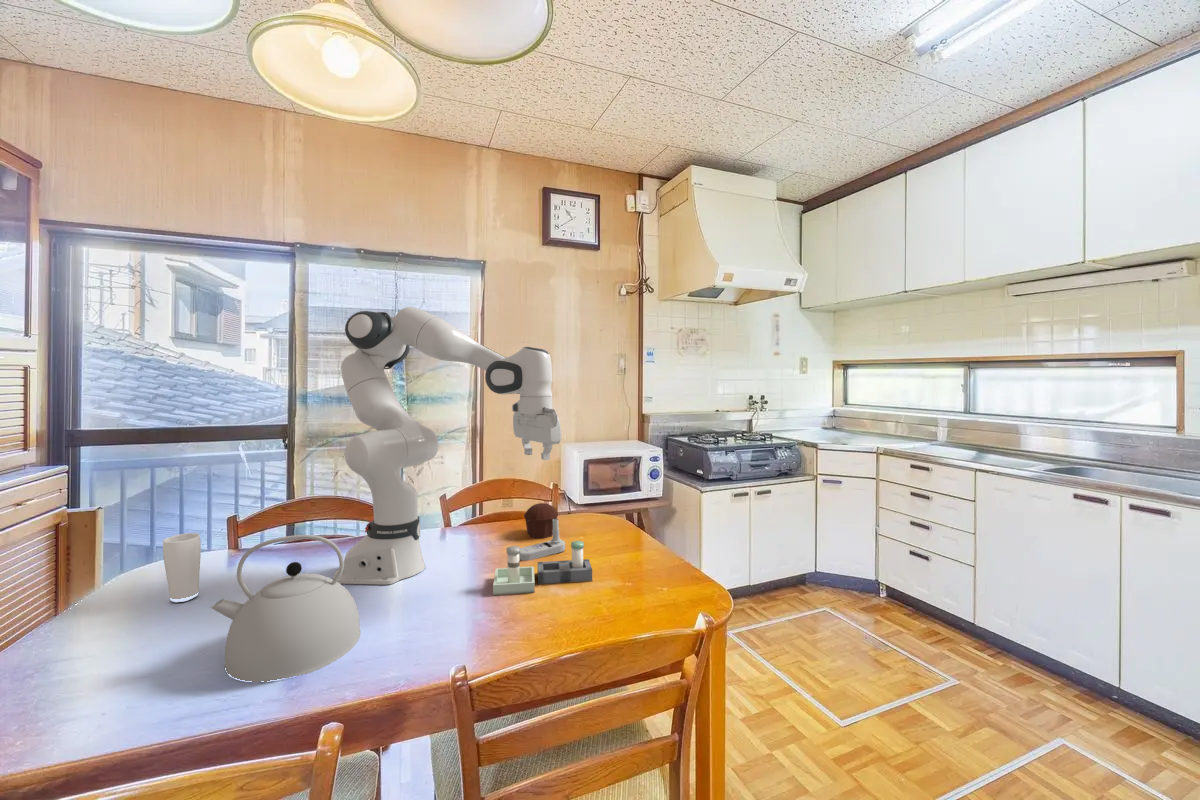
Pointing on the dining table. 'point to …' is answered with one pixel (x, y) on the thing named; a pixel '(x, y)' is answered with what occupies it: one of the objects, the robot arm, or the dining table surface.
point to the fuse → (577, 554)
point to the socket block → (563, 572)
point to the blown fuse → (513, 564)
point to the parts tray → (523, 586)
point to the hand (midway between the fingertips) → (536, 457)
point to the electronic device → (544, 546)
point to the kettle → (289, 623)
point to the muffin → (540, 520)
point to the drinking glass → (182, 564)
